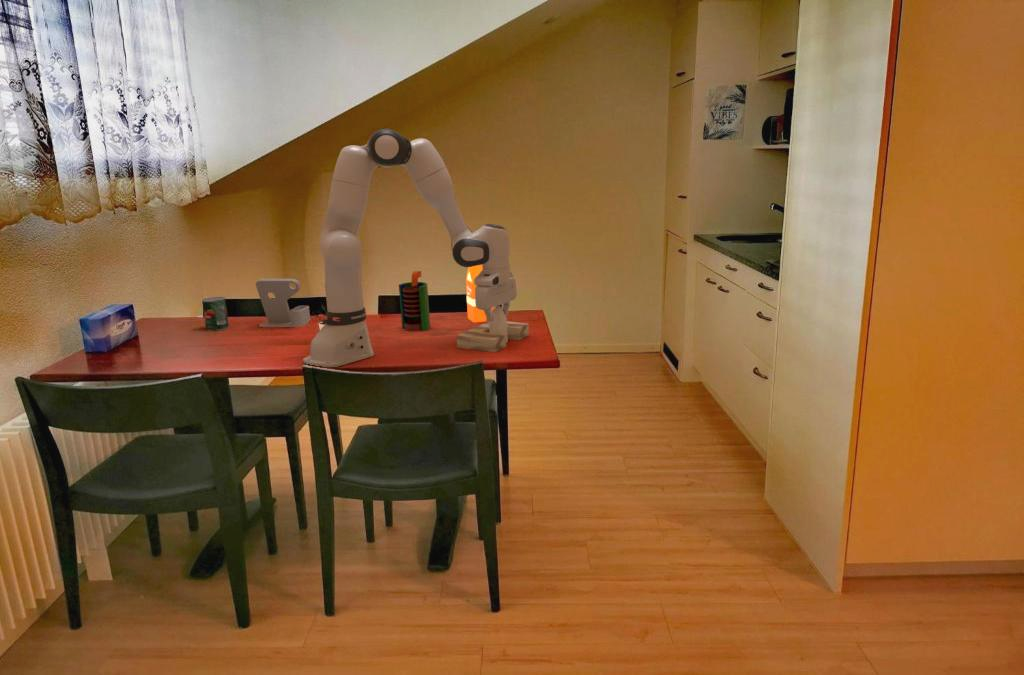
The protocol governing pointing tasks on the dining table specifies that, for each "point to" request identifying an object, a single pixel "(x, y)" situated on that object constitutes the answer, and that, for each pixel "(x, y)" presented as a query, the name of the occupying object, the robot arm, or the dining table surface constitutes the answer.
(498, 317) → the grey rounded cylinder
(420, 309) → the motor
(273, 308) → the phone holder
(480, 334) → the notched board
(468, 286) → the orange juice
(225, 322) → the canned tomato
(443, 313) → the dining table surface
